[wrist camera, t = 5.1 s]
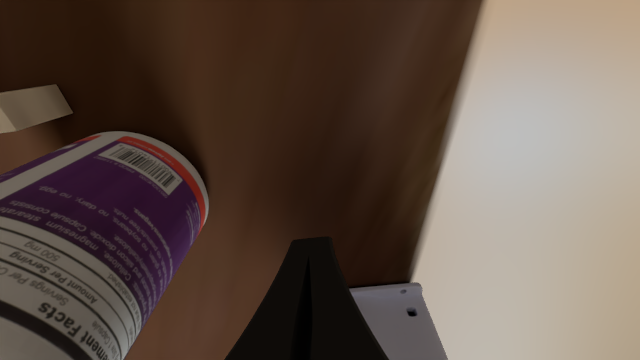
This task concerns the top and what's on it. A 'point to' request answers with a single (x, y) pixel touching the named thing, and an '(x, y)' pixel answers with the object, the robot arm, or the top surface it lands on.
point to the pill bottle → (92, 244)
